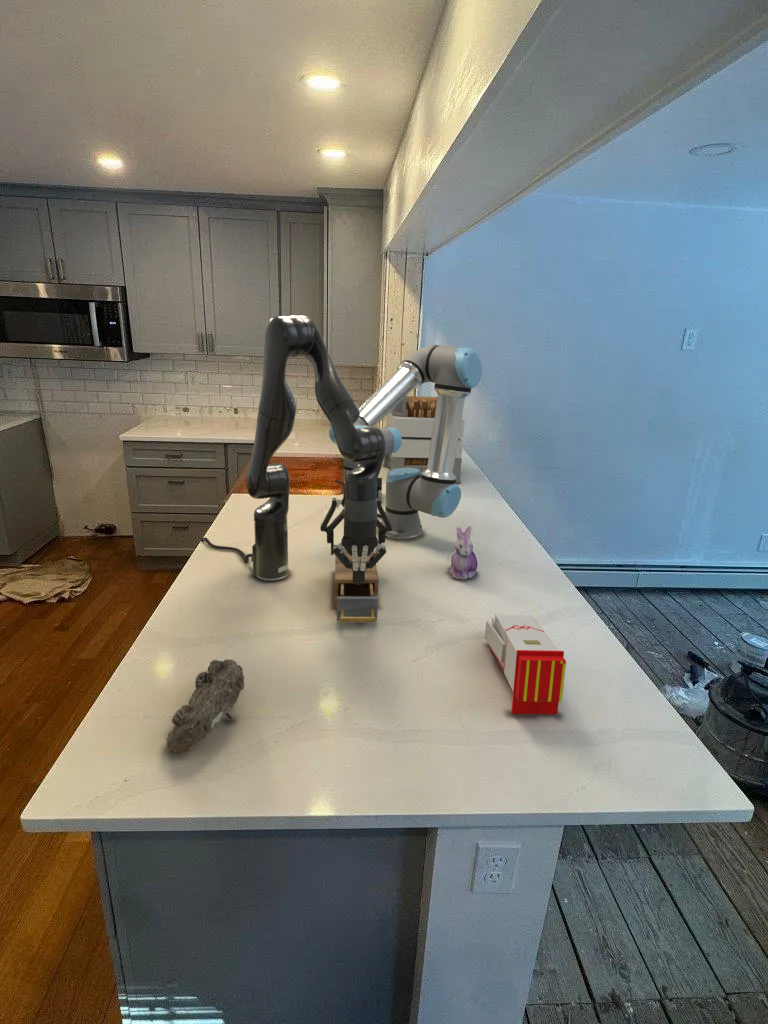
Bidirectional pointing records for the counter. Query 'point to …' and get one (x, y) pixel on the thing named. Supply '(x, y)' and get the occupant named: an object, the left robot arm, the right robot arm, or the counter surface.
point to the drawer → (357, 603)
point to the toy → (527, 663)
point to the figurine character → (379, 487)
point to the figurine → (463, 556)
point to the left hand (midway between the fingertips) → (358, 583)
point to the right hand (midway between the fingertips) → (356, 553)
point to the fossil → (206, 705)
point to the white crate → (417, 433)
